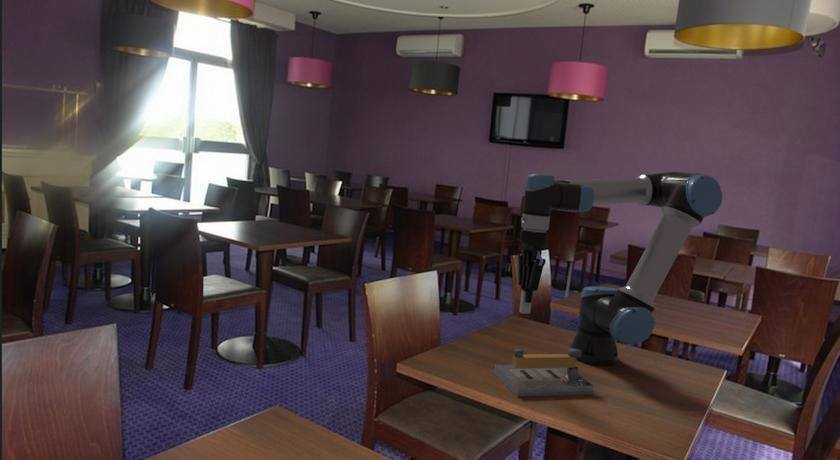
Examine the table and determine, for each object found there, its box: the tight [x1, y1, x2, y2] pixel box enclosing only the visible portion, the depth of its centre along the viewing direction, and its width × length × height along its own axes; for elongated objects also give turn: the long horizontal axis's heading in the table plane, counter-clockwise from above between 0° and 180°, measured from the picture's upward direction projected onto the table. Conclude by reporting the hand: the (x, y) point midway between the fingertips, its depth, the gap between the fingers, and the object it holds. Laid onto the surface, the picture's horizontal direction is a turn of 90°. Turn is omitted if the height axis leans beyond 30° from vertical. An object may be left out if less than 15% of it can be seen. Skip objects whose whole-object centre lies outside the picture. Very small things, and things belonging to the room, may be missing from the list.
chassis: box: [493, 364, 595, 398], centre depth 165 cm, size 22×16×5 cm
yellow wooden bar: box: [511, 348, 582, 368], centre depth 165 cm, size 20×4×5 cm, turn 105°
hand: (524, 312), depth 169 cm, fingers closed
